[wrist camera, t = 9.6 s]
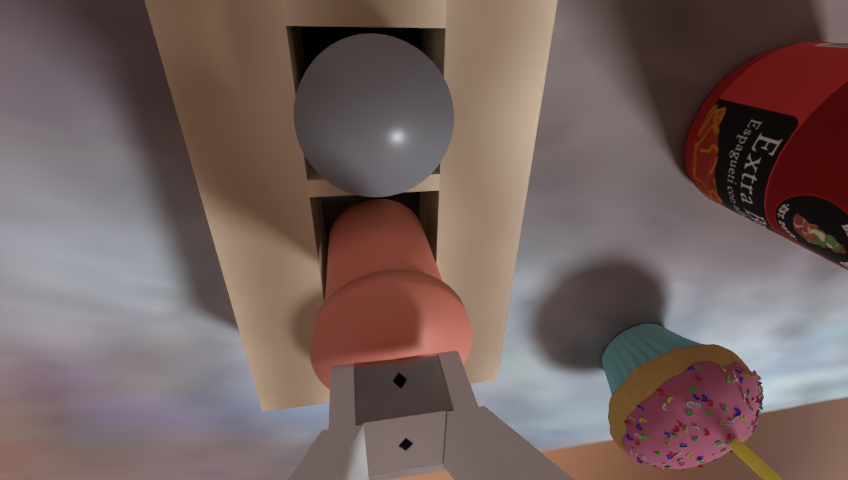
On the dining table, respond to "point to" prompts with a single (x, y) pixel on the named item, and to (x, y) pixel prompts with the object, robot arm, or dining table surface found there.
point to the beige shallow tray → (303, 187)
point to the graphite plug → (373, 115)
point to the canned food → (780, 145)
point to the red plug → (384, 293)
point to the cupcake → (680, 400)
